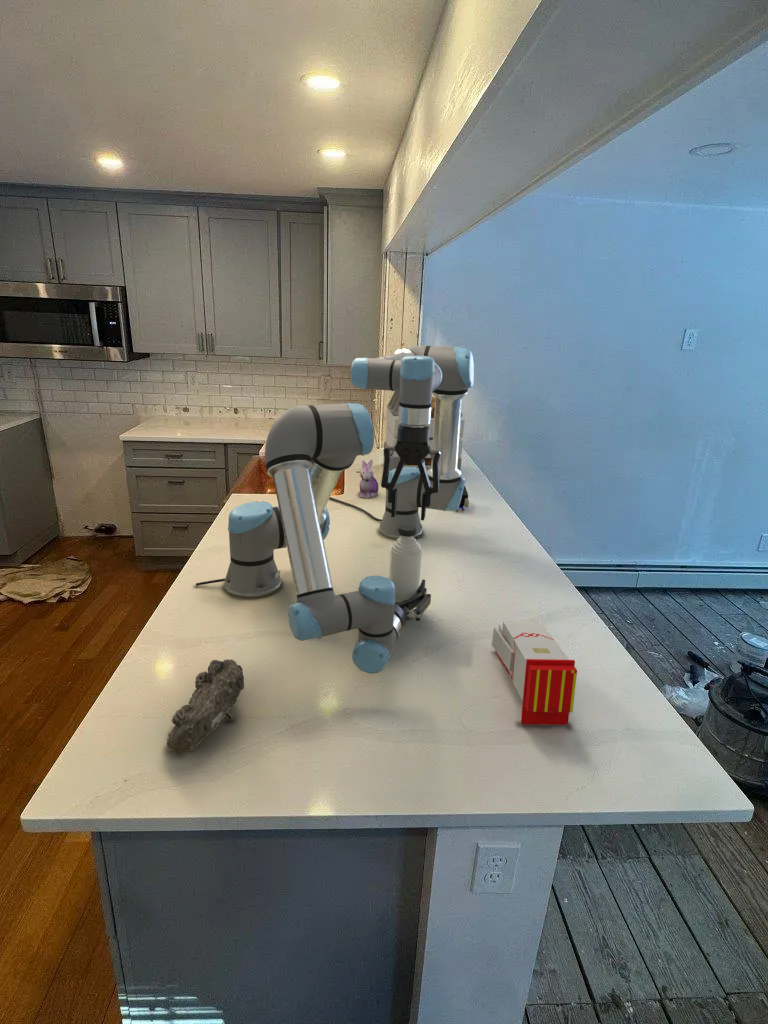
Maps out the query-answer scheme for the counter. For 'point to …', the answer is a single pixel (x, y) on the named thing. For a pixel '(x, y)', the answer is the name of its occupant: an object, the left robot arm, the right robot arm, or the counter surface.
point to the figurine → (368, 481)
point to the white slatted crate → (393, 429)
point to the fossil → (206, 705)
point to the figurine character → (464, 499)
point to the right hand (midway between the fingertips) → (408, 516)
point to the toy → (537, 671)
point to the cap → (407, 530)
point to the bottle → (405, 567)
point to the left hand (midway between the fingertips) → (407, 581)
